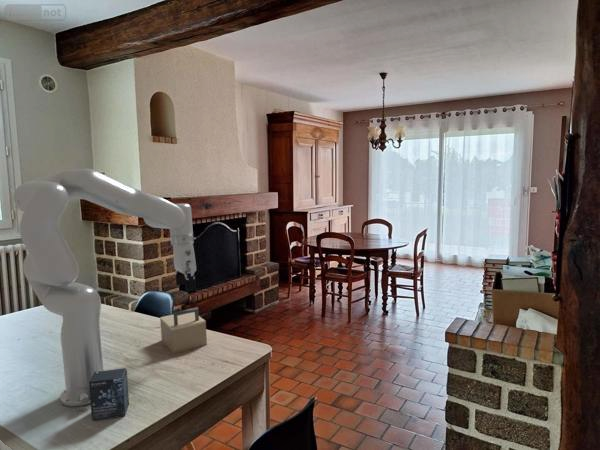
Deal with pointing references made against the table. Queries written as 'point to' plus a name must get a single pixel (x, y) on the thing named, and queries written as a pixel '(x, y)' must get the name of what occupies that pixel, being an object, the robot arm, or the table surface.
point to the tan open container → (184, 337)
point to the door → (183, 319)
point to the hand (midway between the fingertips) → (185, 287)
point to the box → (109, 394)
